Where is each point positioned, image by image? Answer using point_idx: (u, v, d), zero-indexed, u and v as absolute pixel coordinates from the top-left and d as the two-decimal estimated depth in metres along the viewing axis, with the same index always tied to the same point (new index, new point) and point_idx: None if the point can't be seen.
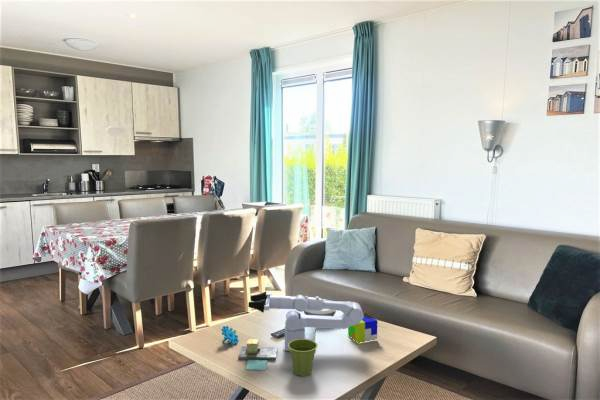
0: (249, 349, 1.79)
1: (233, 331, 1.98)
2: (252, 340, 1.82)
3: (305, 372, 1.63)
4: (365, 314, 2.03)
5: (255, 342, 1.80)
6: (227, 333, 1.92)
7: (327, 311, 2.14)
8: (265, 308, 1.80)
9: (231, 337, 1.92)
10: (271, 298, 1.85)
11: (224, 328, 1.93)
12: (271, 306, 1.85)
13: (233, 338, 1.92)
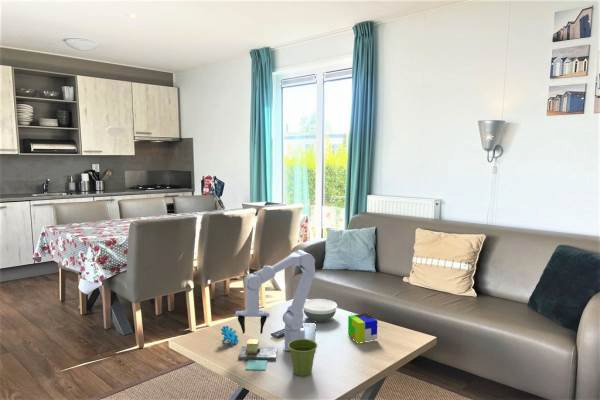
0: (249, 349, 1.79)
1: (233, 331, 1.98)
2: (252, 340, 1.82)
3: (305, 372, 1.63)
4: (365, 314, 2.03)
5: (255, 342, 1.80)
6: (227, 333, 1.92)
7: (327, 311, 2.14)
8: (269, 315, 1.80)
9: (231, 337, 1.92)
10: (255, 312, 1.77)
11: (224, 328, 1.94)
12: None
13: (233, 338, 1.92)
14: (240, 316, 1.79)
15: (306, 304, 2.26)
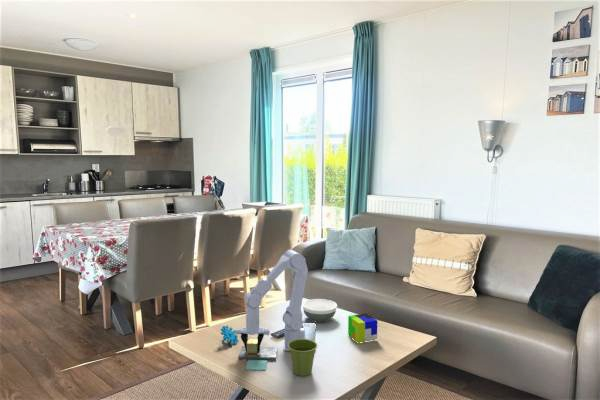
0: (249, 349, 1.79)
1: (233, 331, 1.98)
2: (252, 340, 1.82)
3: (305, 372, 1.63)
4: (365, 314, 2.03)
5: (255, 342, 1.80)
6: (226, 333, 1.92)
7: (327, 311, 2.14)
8: None
9: (230, 337, 1.92)
10: (255, 330, 1.78)
11: (224, 328, 1.94)
12: None
13: (232, 338, 1.92)
14: None
15: (306, 304, 2.26)
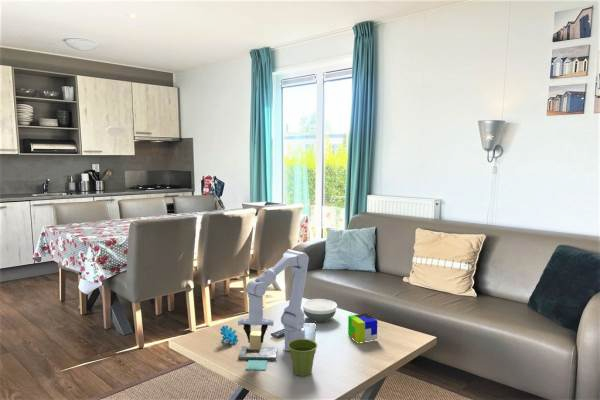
0: (252, 341, 1.70)
1: (233, 331, 1.98)
2: (256, 332, 1.73)
3: (305, 372, 1.63)
4: (365, 314, 2.03)
5: (258, 334, 1.71)
6: (226, 333, 1.92)
7: (327, 311, 2.14)
8: (273, 323, 1.72)
9: (230, 337, 1.92)
10: (259, 320, 1.69)
11: (223, 328, 1.94)
12: None
13: (232, 338, 1.92)
14: (243, 324, 1.71)
15: (306, 304, 2.26)
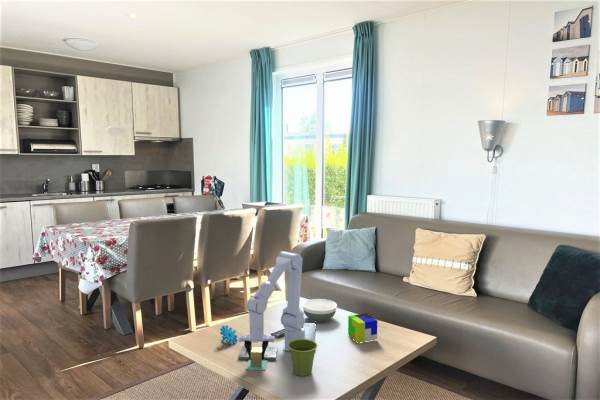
0: (253, 358, 1.70)
1: (233, 331, 1.98)
2: (256, 348, 1.73)
3: (305, 372, 1.63)
4: (365, 314, 2.03)
5: (259, 351, 1.70)
6: (226, 333, 1.92)
7: (327, 311, 2.14)
8: (274, 340, 1.71)
9: (230, 337, 1.92)
10: (259, 337, 1.68)
11: (223, 328, 1.94)
12: None
13: (232, 338, 1.92)
14: None
15: (306, 304, 2.26)
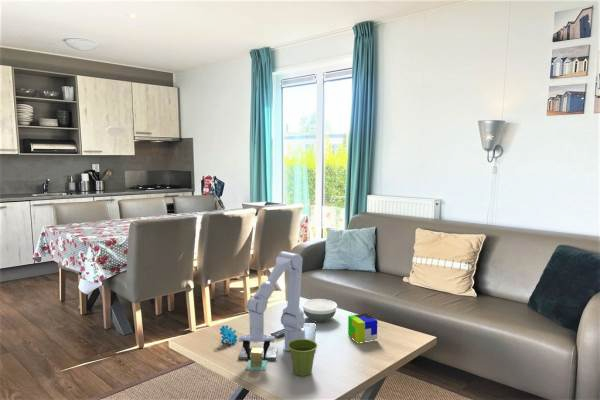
0: (253, 358, 1.70)
1: (233, 331, 1.98)
2: (256, 349, 1.73)
3: (305, 372, 1.63)
4: (365, 314, 2.03)
5: (259, 351, 1.70)
6: (225, 333, 1.92)
7: (327, 311, 2.14)
8: (274, 340, 1.71)
9: (229, 337, 1.92)
10: (259, 337, 1.68)
11: (223, 327, 1.94)
12: None
13: (231, 338, 1.92)
14: (244, 341, 1.70)
15: (306, 304, 2.26)
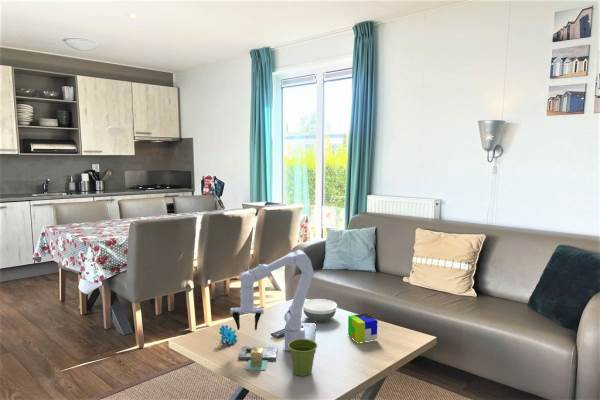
0: (253, 358, 1.70)
1: (233, 331, 1.98)
2: (256, 349, 1.73)
3: (305, 372, 1.63)
4: (365, 314, 2.03)
5: (259, 351, 1.70)
6: (225, 332, 1.92)
7: (327, 311, 2.14)
8: (263, 312, 1.84)
9: (229, 337, 1.92)
10: (250, 309, 1.81)
11: (223, 327, 1.94)
12: None
13: (231, 338, 1.92)
14: (235, 313, 1.83)
15: (306, 304, 2.26)
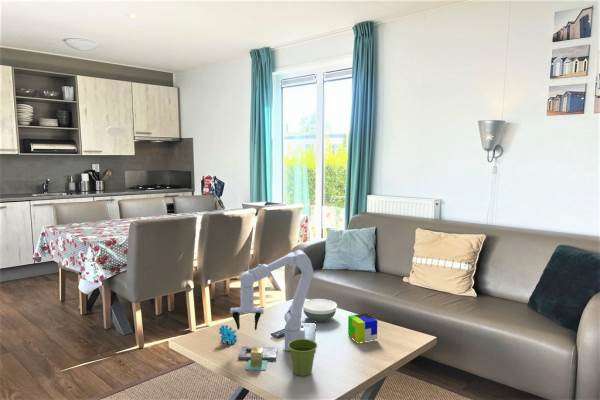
0: (253, 358, 1.70)
1: (233, 331, 1.99)
2: (256, 349, 1.73)
3: (305, 372, 1.63)
4: (365, 314, 2.03)
5: (259, 351, 1.70)
6: (225, 332, 1.92)
7: (327, 311, 2.14)
8: (263, 312, 1.84)
9: (229, 337, 1.92)
10: (249, 309, 1.81)
11: (222, 327, 1.94)
12: None
13: (231, 338, 1.92)
14: (235, 313, 1.83)
15: (306, 304, 2.26)
